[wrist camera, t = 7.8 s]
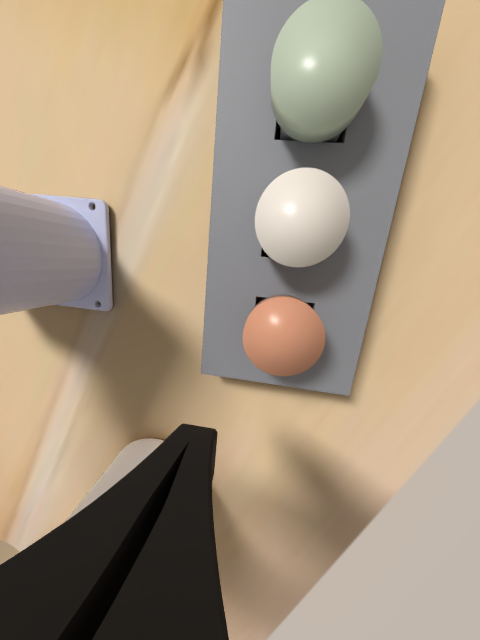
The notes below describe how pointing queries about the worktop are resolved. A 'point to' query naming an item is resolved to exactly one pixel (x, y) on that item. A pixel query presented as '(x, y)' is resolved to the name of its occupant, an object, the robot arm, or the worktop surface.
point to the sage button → (324, 68)
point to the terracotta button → (283, 335)
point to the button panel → (284, 155)
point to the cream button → (302, 217)
